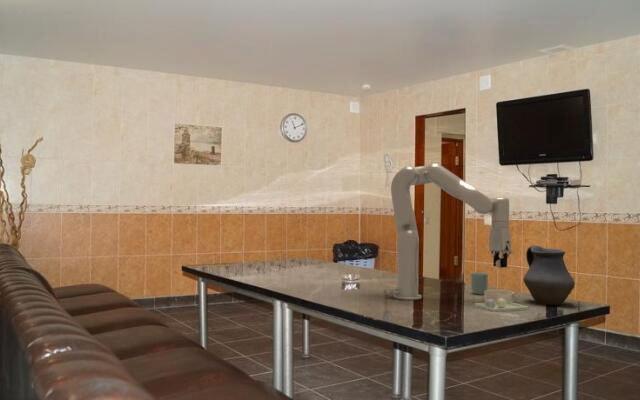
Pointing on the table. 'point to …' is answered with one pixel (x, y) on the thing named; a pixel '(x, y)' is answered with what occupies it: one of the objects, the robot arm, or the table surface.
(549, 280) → the pitcher
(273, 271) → the table surface
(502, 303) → the pebble
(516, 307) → the tray
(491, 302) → the pebble
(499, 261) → the pebble
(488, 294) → the bowl
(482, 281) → the cup
